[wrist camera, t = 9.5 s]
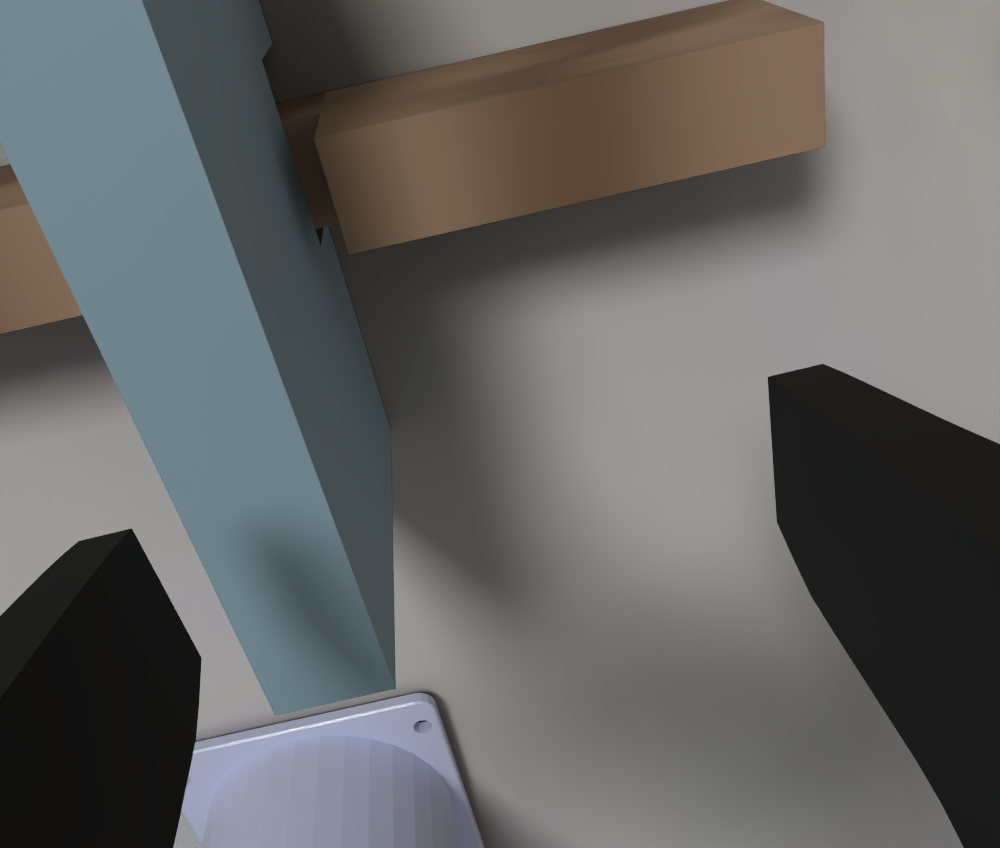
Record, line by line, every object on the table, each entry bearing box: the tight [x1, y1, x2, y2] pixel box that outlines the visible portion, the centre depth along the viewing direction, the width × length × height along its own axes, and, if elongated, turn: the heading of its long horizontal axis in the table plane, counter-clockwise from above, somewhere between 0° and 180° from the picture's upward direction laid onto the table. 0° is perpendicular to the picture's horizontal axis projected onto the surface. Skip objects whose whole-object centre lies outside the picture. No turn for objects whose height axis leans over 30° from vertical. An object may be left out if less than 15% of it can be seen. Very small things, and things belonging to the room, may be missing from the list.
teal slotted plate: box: [0, 0, 396, 715], centre depth 15 cm, size 14×2×8 cm, turn 11°
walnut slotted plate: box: [0, 0, 825, 334], centre depth 17 cm, size 20×2×4 cm, turn 101°
